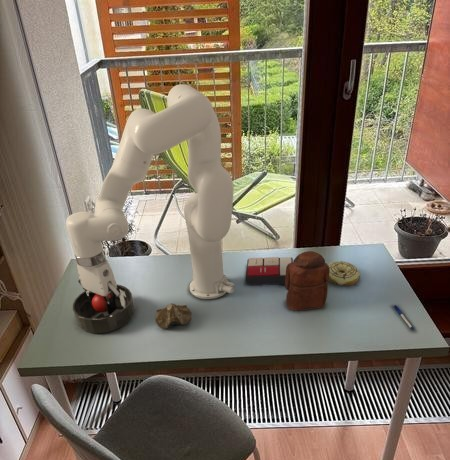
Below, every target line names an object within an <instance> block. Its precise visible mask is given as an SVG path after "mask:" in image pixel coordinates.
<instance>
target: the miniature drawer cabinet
mask: <svg viewBox="0 0 450 460" xmlns="http://www.w3.org/2000/svg"><path fill="white" fill-rule="evenodd" d="M293 261H294V258H293V257H291V256H288V257H287V256H285V257H279V256H272V257H271V256H270V257H268V256H267V257H249V258H248V259H247V263H246V271H245V282H246V283H245V284H246V285H280V286H285V276H286V267H287V265H288V264H289V263H292V262H293Z"/></svg>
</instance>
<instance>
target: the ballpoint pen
mask: <svg viewBox="0 0 450 460" xmlns="http://www.w3.org/2000/svg"><path fill="white" fill-rule="evenodd" d="M393 308H394V309H395V311H397V313H398V315H399V316H401V318H402V319H403V320H404V322H405V323H406V325H407V326H408V327H409V328H410V329H411V330H412V331H414V327H413V326H412V325H411V323H410V322H409V320H408V319H407V318H406V317H405V315H404V314H403V312H402V311H401V309H400V308H399V307H398V306H397V305H396V304H395V305H393Z"/></svg>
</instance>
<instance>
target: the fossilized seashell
mask: <svg viewBox="0 0 450 460" xmlns="http://www.w3.org/2000/svg"><path fill="white" fill-rule="evenodd" d="M155 310H156V312H155V313H156V314H155V316H154V321H155V323H156V325H157V327H159V328H160V329H169V328H170V327H171V326H173V325H174V324H176V325H180V326H187V325H188V324H189V323H190V322H191V320H192V316H193V314H192V311H191V310H190V309H189V308H188V305H187V304H184V305H183V304H181V305H180V304H178V305H177V304H175V303H169V304H167V306H166V307H164V308H159V309H155Z"/></svg>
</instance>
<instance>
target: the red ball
mask: <svg viewBox="0 0 450 460" xmlns="http://www.w3.org/2000/svg"><path fill="white" fill-rule="evenodd" d="M107 296H108V298H110V297H111V296H110V294H108V295H107ZM105 304H106V301H105V299H104V297H103V296H101V295H99V294H96V295H94V297H93V299H92V306H93V308H94V309H95V310H96V311H98V312H107V308H106V305H105Z"/></svg>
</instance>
